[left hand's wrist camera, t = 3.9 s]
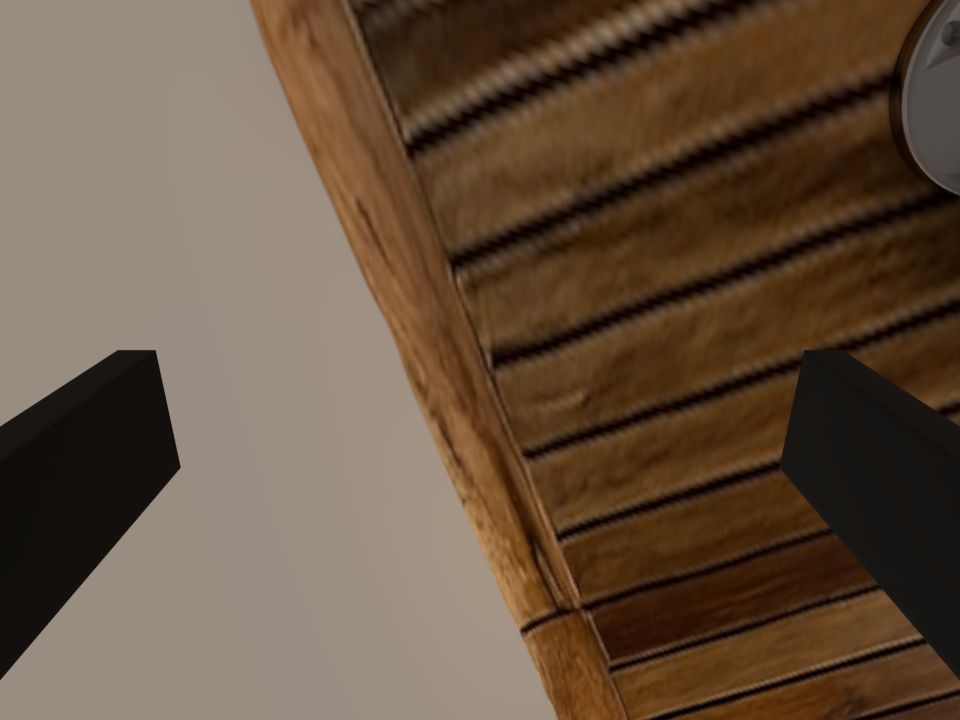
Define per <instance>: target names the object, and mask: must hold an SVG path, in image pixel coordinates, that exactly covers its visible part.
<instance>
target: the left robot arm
mask: <svg viewBox="0 0 960 720" xmlns="http://www.w3.org/2000/svg"><path fill="white" fill-rule="evenodd" d="M890 117H891V125H892V131H893V135H894V139H895V142H896V145H897V147H898V150H899V152H900V154H901V156H902V158H903V159H904V161H905V162H906V164H907V165H908V167H909V168H910V169H911V170H912V171H913V172H914V174H915V175H916V176H918V177H919V178H920V179H921V180H922V181H924V182H925V183H927V184H928V185H930V186H931V187H933V188H935V189H937V190H939V191H942V192H945V193H948V194H952V195H956V196H960V0H933V1H932V2H931V4H930V5H929V6H928V7H927V9H926V10H925V11H924V13H923V14H922V16H921V17H920V18H919V20H918V22H917V23H916V25H915V27H914V28H913V30H912V31H911V33H910V35H909V37H908V39H907V41H906V43H905V45H904V48H903V50H902V53H901V55H900V58H899V61H898V64H897V67H896V70H895V74H894V78H893V83H892V90H891V99H890ZM180 468H181V467H180V462H179V457H178V453H177V448H176V443H175V439H174V434H173V429H172V425H171V420H170V415H169V411H168V406H167V401H166V397H165V392H164V387H163V383H162V378H161V373H160V369H159V364H158V359H157V354H156V351H155V350H117V351H116V352H114V353H113V354H111V355H110V356H108V357H107V358H105V359H104V360H102V361H100V362H99V363H97V364H96V365H94V366H93V367H91V368H90V369H88V370H87V371H85V372H83V373H82V374H80V375H79V376H77V377H76V378H74V379H73V380H71V381H70V382H68V383H67V384H65V385H63V386H62V387H60V388H59V389H57V390H56V391H54V392H53V393H51V394H50V395H48V396H47V397H45V398H43V399H42V400H40V401H39V402H37V403H36V404H34V405H33V406H31V407H30V408H28V409H26V410H25V411H23V412H22V413H20V414H19V415H17V416H16V417H14V418H13V419H11V420H10V421H8V422H6V423H5V424H3V425H2V426H0V680H1V679H2V677H3V676H4V675H5V674H6V673H7V672H8V670H9V669H10V668H11V667H12V666H13V665H14V663H15V662H16V661H17V660H18V659H19V657H20V656H21V655H22V654H23V653H24V652H25V650H26V649H27V648H28V647H29V646H30V644H31V643H32V642H33V641H34V640H35V639H36V637H37V636H38V635H39V634H40V633H41V632H42V630H43V629H44V628H45V627H46V626H47V625H48V623H49V622H50V621H51V620H52V619H53V617H54V616H55V615H56V614H57V613H58V612H59V610H60V609H61V608H62V607H63V606H64V604H65V603H66V602H67V601H68V600H69V599H70V597H71V596H72V595H73V594H74V593H75V592H76V590H77V589H78V588H79V587H80V586H81V584H82V583H83V582H84V581H85V580H86V579H87V577H88V576H89V575H90V574H91V573H92V572H93V570H94V569H95V568H96V567H97V566H98V564H99V563H100V562H101V561H102V560H103V559H104V557H105V556H106V555H107V554H108V553H109V551H110V550H111V549H112V548H113V547H114V546H115V544H116V543H117V542H118V541H119V540H120V539H121V537H122V536H123V535H124V534H125V533H126V531H127V530H128V529H129V528H130V527H131V526H132V524H133V523H134V522H135V521H136V520H137V519H138V517H139V516H140V515H141V514H142V513H143V511H144V510H145V509H146V508H147V507H148V506H149V504H150V503H151V502H152V501H153V500H154V498H155V497H156V496H157V495H158V494H159V493H160V491H161V490H162V489H163V488H164V487H165V485H166V484H167V483H168V482H169V481H170V480H171V478H172V477H173V476H174V475H175V474H176V473H177V471H178V470H179V469H180ZM779 468H780V469H781V470H782V471H783V473H784V474H785V475H786V476H787V477H788V478H789V480H790V481H791V482H792V483H793V484H794V486H795V487H796V488H797V489H798V490H799V491H800V493H801V494H802V495H803V496H804V497H805V498H806V500H807V501H808V502H809V503H810V504H811V506H812V507H813V508H814V509H815V510H816V511H817V513H818V514H819V515H820V516H821V517H822V519H823V520H824V521H825V522H826V523H827V524H828V526H829V527H830V528H831V529H832V530H833V531H834V533H835V534H836V535H837V536H838V537H839V539H840V540H841V541H842V542H843V543H844V544H845V546H846V547H847V548H848V549H849V550H850V551H851V553H852V554H853V555H854V556H855V557H856V559H857V560H858V561H859V562H860V563H861V564H862V566H863V567H864V568H865V569H866V570H867V572H868V573H869V574H870V575H871V576H872V577H873V579H874V580H875V581H876V582H877V583H878V584H879V586H880V587H881V588H882V589H883V590H884V592H885V593H886V594H887V595H888V596H889V597H890V599H891V600H892V601H893V602H894V603H895V604H896V606H897V607H898V608H899V609H900V610H901V612H902V613H903V614H904V615H905V616H906V617H907V619H908V620H909V621H910V622H911V623H912V625H913V626H914V627H915V628H916V629H917V630H918V632H919V633H920V634H921V635H922V636H923V637H924V639H925V640H926V641H927V642H928V643H929V645H930V646H931V647H932V648H933V649H934V650H935V652H936V653H937V654H938V655H939V656H940V657H941V659H942V660H943V661H944V662H945V663H946V665H947V666H948V667H949V668H950V669H951V670H952V672H953V673H954V674H955V675H956V676H957V677H958V679H959V680H960V426H958V425H957V424H955V423H954V422H952V421H950V420H949V419H947V418H946V417H944V416H943V415H941V414H940V413H938V412H937V411H935V410H934V409H932V408H930V407H929V406H927V405H926V404H924V403H923V402H921V401H920V400H918V399H917V398H915V397H914V396H912V395H910V394H909V393H907V392H906V391H904V390H903V389H901V388H900V387H898V386H897V385H895V384H893V383H892V382H890V381H889V380H887V379H886V378H884V377H883V376H881V375H880V374H878V373H877V372H875V371H873V370H872V369H870V368H869V367H867V366H866V365H864V364H863V363H861V362H860V361H858V360H856V359H855V358H853V357H852V356H850V355H849V354H847V353H846V352H844V351H843V350H804V354H803V359H802V364H801V368H800V373H799V378H798V383H797V387H796V392H795V397H794V401H793V406H792V411H791V415H790V420H789V425H788V429H787V434H786V439H785V443H784V448H783V453H782V457H781V462H780V467H779Z"/></svg>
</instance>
